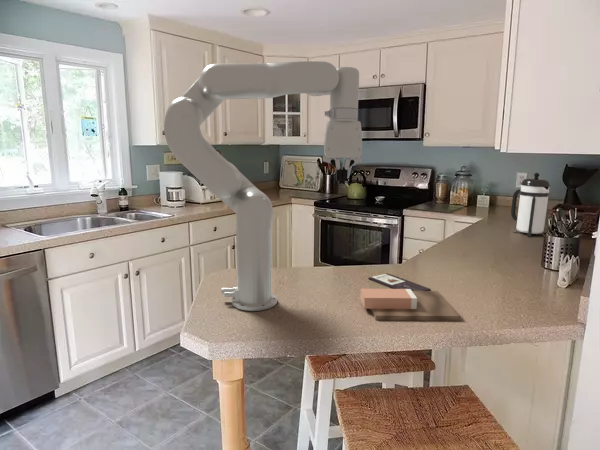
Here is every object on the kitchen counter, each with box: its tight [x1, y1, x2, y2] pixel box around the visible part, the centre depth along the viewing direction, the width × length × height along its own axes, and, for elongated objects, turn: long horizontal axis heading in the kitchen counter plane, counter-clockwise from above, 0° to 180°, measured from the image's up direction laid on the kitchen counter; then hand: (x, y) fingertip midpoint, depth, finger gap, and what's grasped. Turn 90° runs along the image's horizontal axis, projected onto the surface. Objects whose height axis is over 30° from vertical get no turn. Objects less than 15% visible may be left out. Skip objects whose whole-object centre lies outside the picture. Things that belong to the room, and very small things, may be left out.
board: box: [370, 290, 462, 321], centre depth 119 cm, size 22×18×1 cm
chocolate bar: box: [368, 273, 432, 291], centre depth 136 cm, size 9×1×18 cm
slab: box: [360, 288, 417, 310], centre depth 117 cm, size 3×7×14 cm
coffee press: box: [510, 172, 552, 238], centre depth 208 cm, size 17×16×30 cm
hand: (341, 183), depth 120 cm, fingers closed
